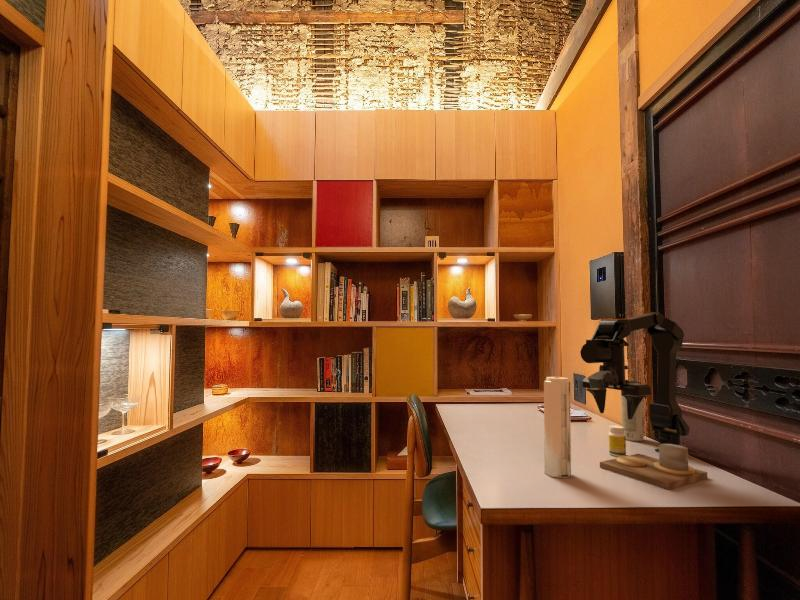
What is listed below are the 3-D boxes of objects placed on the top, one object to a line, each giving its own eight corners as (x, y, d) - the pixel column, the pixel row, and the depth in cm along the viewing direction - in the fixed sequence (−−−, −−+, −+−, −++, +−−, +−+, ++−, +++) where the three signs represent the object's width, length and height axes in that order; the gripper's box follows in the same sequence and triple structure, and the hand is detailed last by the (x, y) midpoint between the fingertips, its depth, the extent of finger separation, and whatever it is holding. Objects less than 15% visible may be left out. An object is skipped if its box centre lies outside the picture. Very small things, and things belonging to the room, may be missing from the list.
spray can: (647, 442, 144) (646, 382, 145) (628, 441, 144) (626, 382, 145) (637, 437, 150) (636, 380, 152) (618, 436, 151) (617, 380, 152)
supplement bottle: (628, 457, 125) (627, 429, 126) (611, 456, 126) (610, 428, 127) (623, 453, 130) (622, 425, 130) (606, 452, 131) (606, 424, 131)
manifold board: (638, 458, 124) (638, 433, 125) (707, 478, 109) (706, 449, 109) (599, 467, 115) (599, 440, 116) (668, 489, 100) (667, 458, 100)
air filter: (570, 471, 111) (569, 376, 113) (571, 479, 105) (570, 379, 107) (544, 468, 114) (543, 375, 115) (544, 476, 107) (543, 377, 109)
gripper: (568, 360, 128) (569, 412, 127) (623, 365, 111) (625, 425, 110) (594, 359, 133) (596, 409, 132) (651, 364, 116) (653, 421, 115)
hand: (615, 416), depth 122 cm, fingers open, 9 cm apart
